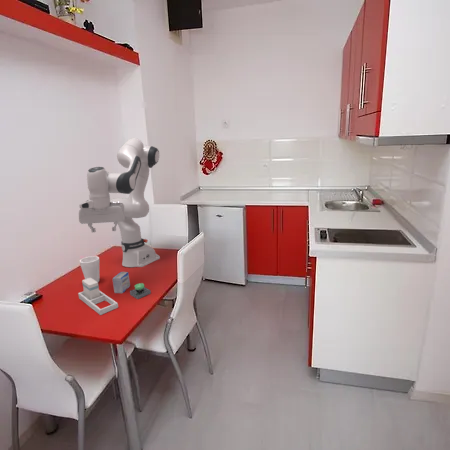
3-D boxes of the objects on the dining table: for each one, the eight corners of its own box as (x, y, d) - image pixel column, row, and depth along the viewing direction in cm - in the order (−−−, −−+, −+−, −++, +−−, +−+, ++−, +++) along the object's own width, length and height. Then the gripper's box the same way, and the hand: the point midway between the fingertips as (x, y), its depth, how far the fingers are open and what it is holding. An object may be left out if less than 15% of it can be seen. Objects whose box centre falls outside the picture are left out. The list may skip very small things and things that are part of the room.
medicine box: (122, 295, 155) (120, 278, 153) (114, 294, 156) (112, 278, 154) (130, 287, 163) (128, 271, 160) (122, 287, 164) (120, 271, 161)
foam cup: (83, 287, 164) (79, 264, 161) (83, 281, 172) (79, 258, 169) (103, 283, 168) (99, 260, 164) (101, 277, 176) (98, 254, 173)
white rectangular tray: (95, 292, 158) (94, 287, 158) (118, 309, 142) (117, 303, 141) (79, 299, 153) (78, 293, 152) (100, 316, 137) (99, 310, 136)
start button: (142, 290, 156) (141, 282, 155) (146, 293, 153) (146, 285, 151) (133, 293, 153) (132, 285, 152) (138, 296, 150) (137, 288, 149)
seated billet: (93, 294, 155) (90, 277, 153) (100, 300, 150) (98, 282, 147) (84, 297, 153) (81, 280, 150) (92, 303, 147) (89, 285, 145)
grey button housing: (143, 291, 158) (142, 285, 157) (151, 296, 153) (150, 290, 152) (130, 296, 153) (129, 291, 152) (138, 301, 148) (137, 295, 148)
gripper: (124, 200, 154) (127, 228, 157) (80, 202, 151) (84, 231, 155) (122, 202, 148) (125, 231, 151) (75, 205, 145) (79, 234, 149)
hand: (104, 231), depth 153 cm, fingers open, 8 cm apart
